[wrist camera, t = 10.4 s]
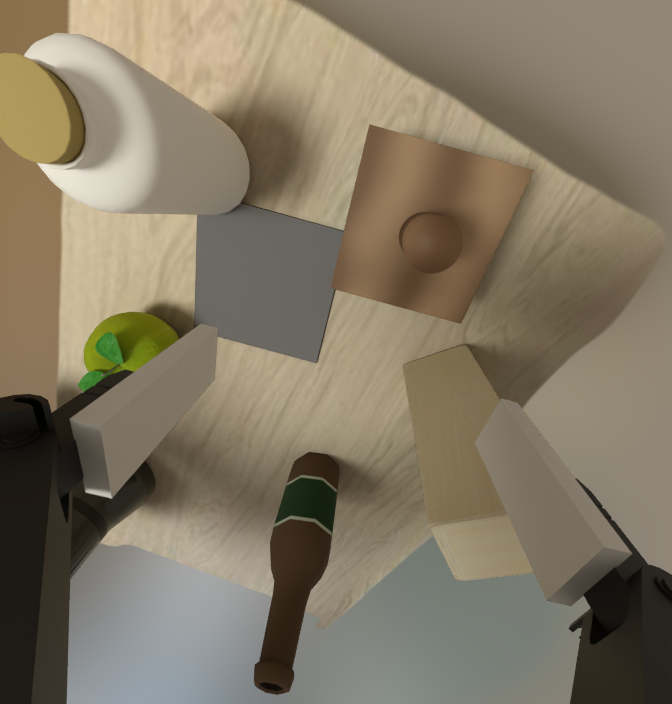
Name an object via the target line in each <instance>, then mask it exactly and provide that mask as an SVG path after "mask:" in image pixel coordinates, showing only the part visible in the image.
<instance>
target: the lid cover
mask: <svg viewBox="0 0 672 704" xmlns="http://www.w3.org/2000/svg"><path fill="white" fill-rule="evenodd" d="M532 173H533V170H530V169H526V168H523V167H519V166H516V165H512V164H509V163H505V162H501V161H498V160H494V159H491V158H487V157H484V156H480V155H477V154H473V153H469V152H466V151H462V150H459V149H455V148H452V147H448V146H445V145H441V144H437V143H434V142H430V141H427V140H423V139H420V138H416V137H412V136H409V135H405V134H402V133H398V132H395V131H391V130H388V129H384V128H380V127H377V126H373V125H369V129H368V133H367V137H366V141H365V146H364V150H363V154H362V158H361V162H360V166H359V171H358V175H357V179H356V183H355V187H354V191H353V196H352V200H351V204H350V208H349V212H348V216H347V220H346V225H345V229H344V233H343V237H342V241H341V245H340V250H339V254H338V258H337V262H336V266H335V270H334V275H333V279H332V283H331V287H330V288H332V289H336V290H339V291H343V292H347V293H350V294H354V295H358V296H361V297H365V298H369V299H372V300H376V301H380V302H383V303H387V304H391V305H394V306H398V307H402V308H405V309H409V310H413V311H416V312H420V313H424V314H427V315H431V316H435V317H438V318H442V319H446V320H449V321H453V322H457V323H460V324H461V323H462V320H463V318H464V316H465V314H466V312H467V310H468V308H469V306H470V304H471V301H472V299H473V297H474V295H475V293H476V291H477V289H478V287H479V285H480V283H481V280H482V278H483V276H484V274H485V272H486V270H487V268H488V266H489V264H490V261H491V259H492V257H493V255H494V253H495V251H496V249H497V247H498V245H499V243H500V240H501V238H502V236H503V234H504V232H505V230H506V228H507V226H508V224H509V221H510V219H511V217H512V215H513V213H514V211H515V209H516V207H517V205H518V203H519V200H520V198H521V196H522V194H523V192H524V190H525V188H526V186H527V184H528V181H529V179H530V177H531V175H532Z"/></svg>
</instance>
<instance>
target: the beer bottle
mask: <svg viewBox="0 0 672 704" xmlns="http://www.w3.org/2000/svg"><path fill="white" fill-rule="evenodd" d="M338 480H339V466H338V465H337V464H336V463H335V462H334V461H333V460H332V459H331V458H329V457H328V456H327V455H324V454H316V453H307V454H305V455H304V456H302V457H300V458H299V459H297V460H296V461H295V462H294V464H293V466H292V469H291V472H290V475H289V479H288V482H287V485H286V488H285V492H284V495H283V498H282V502H281V505H280V508H279V511H278V515H277V518H276V521H275V525H274V528H273V533H272V537H271V542H270V553H271V570H272V574H273V578H274V590H273V596H272V601H271V607H270V611H269V616H268V621H267V626H266V632H265V636H264V642H263V646H262V651H261V656H260V661H259V662H258V663H257V664H255V669H254V683H255V686H256V687H257V688H259V689H261V690H262V691H264V692H266V693H271V694H276V695H278V694H282V693H286V692H289V691H290V688H291V685H292V682H293V680H294V671H293V669H292V668H293V663H294V658H295V654H296V649H297V644H298V640H299V635H300V631H301V626H302V621H303V617H304V612H305V608H306V604H307V601H308V598H309V594H310V591H311V589H312V588H313V587H314V586H315V585H316V584H317V582H318V581H319V580H320V579H321V577H322V575H323V573H324V571H325V569H326V567H327V564H328V559H329V554H330V548H331V540H332V532H333V524H334V516H335V507H336V499H337V491H338Z"/></svg>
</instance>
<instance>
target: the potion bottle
mask: <svg viewBox="0 0 672 704" xmlns="http://www.w3.org/2000/svg"><path fill="white" fill-rule="evenodd" d="M0 137H1V138H2V139H3V140H4V142H5V143H6V144H7V145H8V146H9V147H10V148H11V149H12V150H14V151H15V152H16V153H17V154H19V155H20V156H21V157H23V158H25V159H28V160H30V161H32V162H34V163H37V164H38V165H39V166H40V168H41V169H42V170H43V171H44V172H45V174H46V175H47V176H48V177H49V179H50V180H51V181H52V182H53V183H54V184H55V185H56V186H57V187H59V188H60V189H61V190H62V191H64V192H65V193H66V194H67V195H69V196H70V197H71V198H73V199H74V200H75V201H78V202H80V203H82V204H84V205H87V206H89V207H91V208H94V209H96V210H99V211H104V212H114V213H131V214H192V215H219V214H222V213H226V212H229V211H231V210H232V209H233V208H235V207H236V206H237V205H239V204H240V202H241V201H242V199H243V197H244V196H245V194H246V192H247V188H248V184H249V181H250V167H249V161H248V157H247V154H246V151H245V148H244V146H243V144H242V143H241V141H240V139H239V138H238V136H237V134H236V133H235V132H234V131H233V130H232V129H231V128H230V127H229V126H228V125H227V124H225V123H224V122H223V121H221V120H220V119H218V118H217V117H215V116H214V115H212V114H211V113H209V112H208V111H206V110H205V109H203V108H202V107H200V106H199V105H197V104H196V103H194V102H193V101H191V100H190V99H188V98H187V97H185V96H184V95H182V94H181V93H179V92H178V91H176V90H175V89H173V88H172V87H170V86H169V85H167V84H166V83H164V82H163V81H161V80H160V79H158V78H157V77H155V76H154V75H152V74H151V73H149V72H148V71H146V70H145V69H143V68H141V67H140V66H138V65H137V64H135V63H134V62H132V61H131V60H129V59H128V58H126V57H125V56H123V55H122V54H120V53H119V52H117V51H116V50H114V49H112V48H110V47H108V46H106V45H104V44H102V43H100V42H98V41H96V40H94V39H92V38H90V37H87V36H84V35H80V34H66V33H55V34H53V35H51V36H48V37H46V38H44V39H41V40H39V41H37V42H36V43H34V44H33V45H32V46H31V47H30V48H29V50H28V51H27V52H26V53H25V55H24V56H22V55H20V54H17V53H2V54H0Z"/></svg>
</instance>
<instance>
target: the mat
mask: <svg viewBox="0 0 672 704" xmlns="http://www.w3.org/2000/svg"><path fill="white" fill-rule="evenodd" d="M343 233H344V231H341V230H337V229H334V228H330V227H326V226H323V225H319V224H315V223H312V222H308V221H305V220H301V219H297V218H294V217H290V216H286V215H283V214H279V213H275V212H272V211H268V210H265V209H261V208H257V207H254V206H250V205H246V204H243V203H240V204H239V205H237V206H236V207H235V208H233V209H232V210H231V211H229V212H226V213H222V214H219V215H197V242H196V282H195V321H194V328H196V327H197V326H198V325H200V324H204V325H208V326H212V327H216V328H218V334H217V336H218V337H221V338H225V339H229V340H232V341H236V342H240V343H243V344H247V345H251V346H255V347H258V348H262V349H266V350H269V351H273V352H277V353H281V354H284V355H288V356H292V357H295V358H299V359H303V360H307V361H310V362H314V363H316V362H317V358H318V354H319V350H320V346H321V342H322V338H323V334H324V330H325V326H326V322H327V318H328V314H329V310H330V306H331V302H332V298H333V294H334V289H332V288H330V287H331V283H332V279H333V275H334V270H335V266H336V262H337V258H338V254H339V250H340V245H341V241H342V237H343Z"/></svg>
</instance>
